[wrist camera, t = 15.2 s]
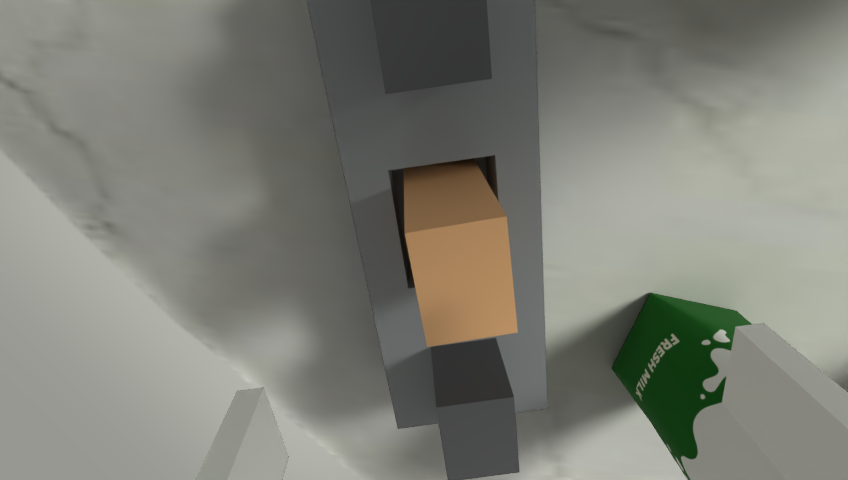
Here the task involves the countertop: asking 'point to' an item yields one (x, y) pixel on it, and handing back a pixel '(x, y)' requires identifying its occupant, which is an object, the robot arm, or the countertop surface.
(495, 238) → the plug
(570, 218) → the countertop surface
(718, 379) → the milk carton
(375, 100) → the power strip
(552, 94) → the countertop surface
